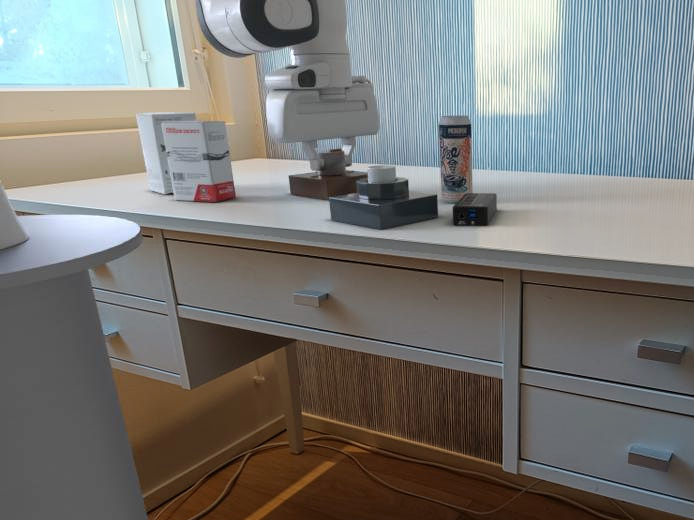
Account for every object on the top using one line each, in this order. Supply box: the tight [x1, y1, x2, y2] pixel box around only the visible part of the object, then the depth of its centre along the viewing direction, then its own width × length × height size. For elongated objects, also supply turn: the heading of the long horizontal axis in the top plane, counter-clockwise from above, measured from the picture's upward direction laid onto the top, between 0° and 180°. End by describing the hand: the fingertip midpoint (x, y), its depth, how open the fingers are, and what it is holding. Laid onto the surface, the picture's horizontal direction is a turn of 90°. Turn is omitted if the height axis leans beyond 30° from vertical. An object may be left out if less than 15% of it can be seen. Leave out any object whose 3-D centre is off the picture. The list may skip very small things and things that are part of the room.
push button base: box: [328, 176, 439, 230], centre depth 89 cm, size 10×10×5 cm
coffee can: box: [438, 115, 474, 204], centre depth 100 cm, size 5×5×12 cm
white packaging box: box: [135, 111, 197, 195], centre depth 116 cm, size 7×7×13 cm
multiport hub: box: [452, 192, 498, 227], centre depth 90 cm, size 4×11×2 cm, turn 173°
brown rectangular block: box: [288, 169, 368, 201], centre depth 112 cm, size 10×10×3 cm
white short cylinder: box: [366, 164, 397, 182], centre depth 88 cm, size 4×4×2 cm
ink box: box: [161, 120, 237, 203], centre depth 106 cm, size 8×5×12 cm, turn 68°
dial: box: [316, 148, 347, 176], centre depth 110 cm, size 4×4×4 cm
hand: (331, 168), depth 111 cm, fingers closed on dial, 4 cm apart
